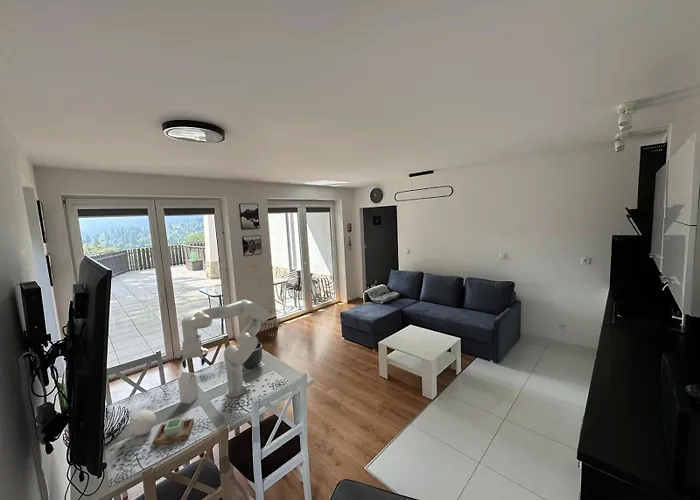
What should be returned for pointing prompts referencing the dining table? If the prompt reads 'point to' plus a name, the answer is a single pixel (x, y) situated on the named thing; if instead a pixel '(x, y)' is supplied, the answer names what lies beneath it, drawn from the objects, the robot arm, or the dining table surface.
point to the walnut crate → (163, 440)
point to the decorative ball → (142, 422)
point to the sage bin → (174, 427)
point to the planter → (254, 358)
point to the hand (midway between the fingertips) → (194, 365)
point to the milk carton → (188, 387)
